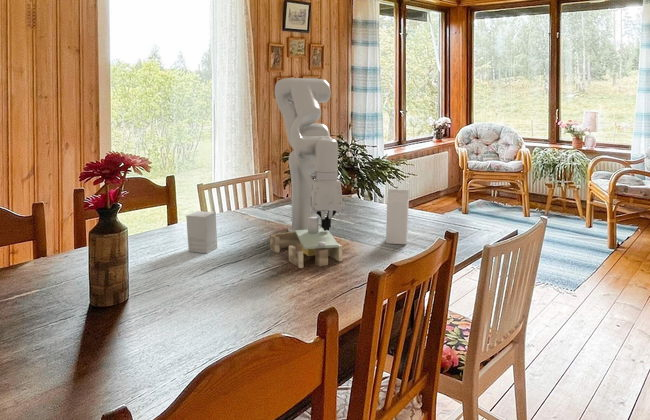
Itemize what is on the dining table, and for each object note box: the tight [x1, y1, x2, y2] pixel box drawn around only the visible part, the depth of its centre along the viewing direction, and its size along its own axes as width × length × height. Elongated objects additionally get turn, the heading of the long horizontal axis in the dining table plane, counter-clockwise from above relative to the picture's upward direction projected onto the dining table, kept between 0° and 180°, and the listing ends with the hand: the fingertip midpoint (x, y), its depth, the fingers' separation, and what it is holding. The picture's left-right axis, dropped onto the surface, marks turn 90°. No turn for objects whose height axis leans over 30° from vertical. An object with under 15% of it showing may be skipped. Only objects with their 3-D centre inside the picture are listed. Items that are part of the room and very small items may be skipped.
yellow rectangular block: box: [300, 243, 315, 257], centre depth 184 cm, size 6×4×3 cm, turn 28°
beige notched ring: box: [269, 231, 343, 269], centre depth 181 cm, size 25×15×7 cm, turn 29°
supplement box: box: [185, 210, 218, 254], centre depth 186 cm, size 7×7×13 cm
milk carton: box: [385, 188, 410, 245], centre depth 195 cm, size 7×7×19 cm
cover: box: [295, 216, 340, 249], centre depth 179 cm, size 21×11×6 cm, turn 11°
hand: (326, 229), depth 187 cm, fingers closed
